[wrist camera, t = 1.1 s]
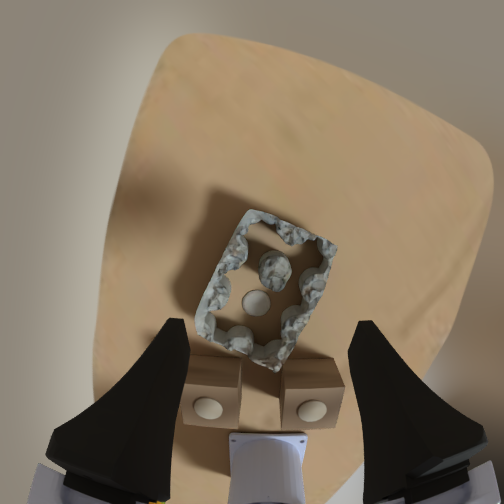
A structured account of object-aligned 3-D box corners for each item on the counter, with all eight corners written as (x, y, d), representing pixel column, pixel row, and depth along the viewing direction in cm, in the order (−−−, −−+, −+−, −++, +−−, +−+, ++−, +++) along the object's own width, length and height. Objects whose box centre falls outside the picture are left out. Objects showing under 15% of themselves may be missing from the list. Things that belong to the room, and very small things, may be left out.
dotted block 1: (241, 397, 25) (237, 430, 20) (194, 393, 25) (183, 425, 20) (241, 357, 24) (237, 389, 19) (190, 354, 24) (176, 384, 20)
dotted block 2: (326, 396, 25) (335, 429, 20) (279, 398, 25) (281, 431, 20) (333, 357, 24) (345, 388, 19) (282, 358, 24) (285, 390, 19)
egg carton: (274, 353, 24) (276, 381, 20) (194, 317, 24) (182, 339, 20) (338, 244, 22) (353, 254, 18) (251, 199, 22) (248, 200, 18)
